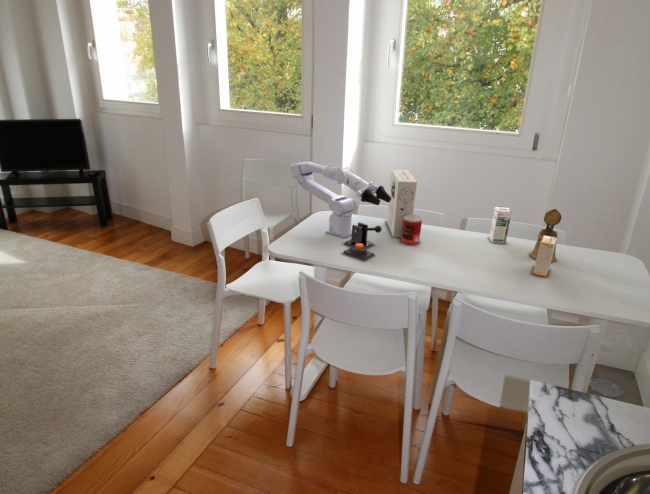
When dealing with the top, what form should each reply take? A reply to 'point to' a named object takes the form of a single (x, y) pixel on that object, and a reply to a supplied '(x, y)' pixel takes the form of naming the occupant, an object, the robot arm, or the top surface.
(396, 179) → the cereal box
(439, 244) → the top surface
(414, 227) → the canned food
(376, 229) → the lever
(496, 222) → the syrup box
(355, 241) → the bracket
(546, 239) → the supplement box
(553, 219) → the brass disc-topped stand
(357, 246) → the button
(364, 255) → the control block
